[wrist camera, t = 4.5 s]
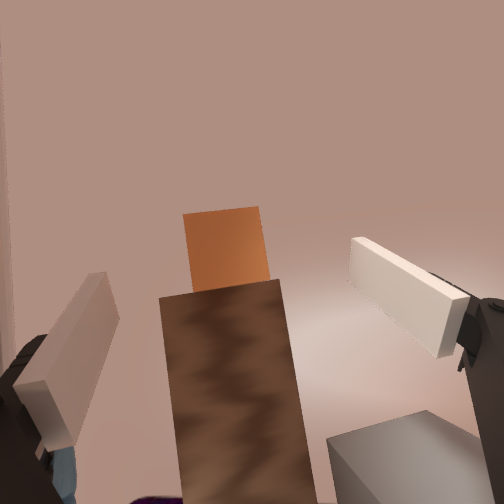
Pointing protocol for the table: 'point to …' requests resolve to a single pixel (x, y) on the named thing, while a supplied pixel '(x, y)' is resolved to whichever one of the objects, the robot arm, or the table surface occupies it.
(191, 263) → the orange rectangular bar
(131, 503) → the table surface
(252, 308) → the post
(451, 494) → the grey upright cuboid
